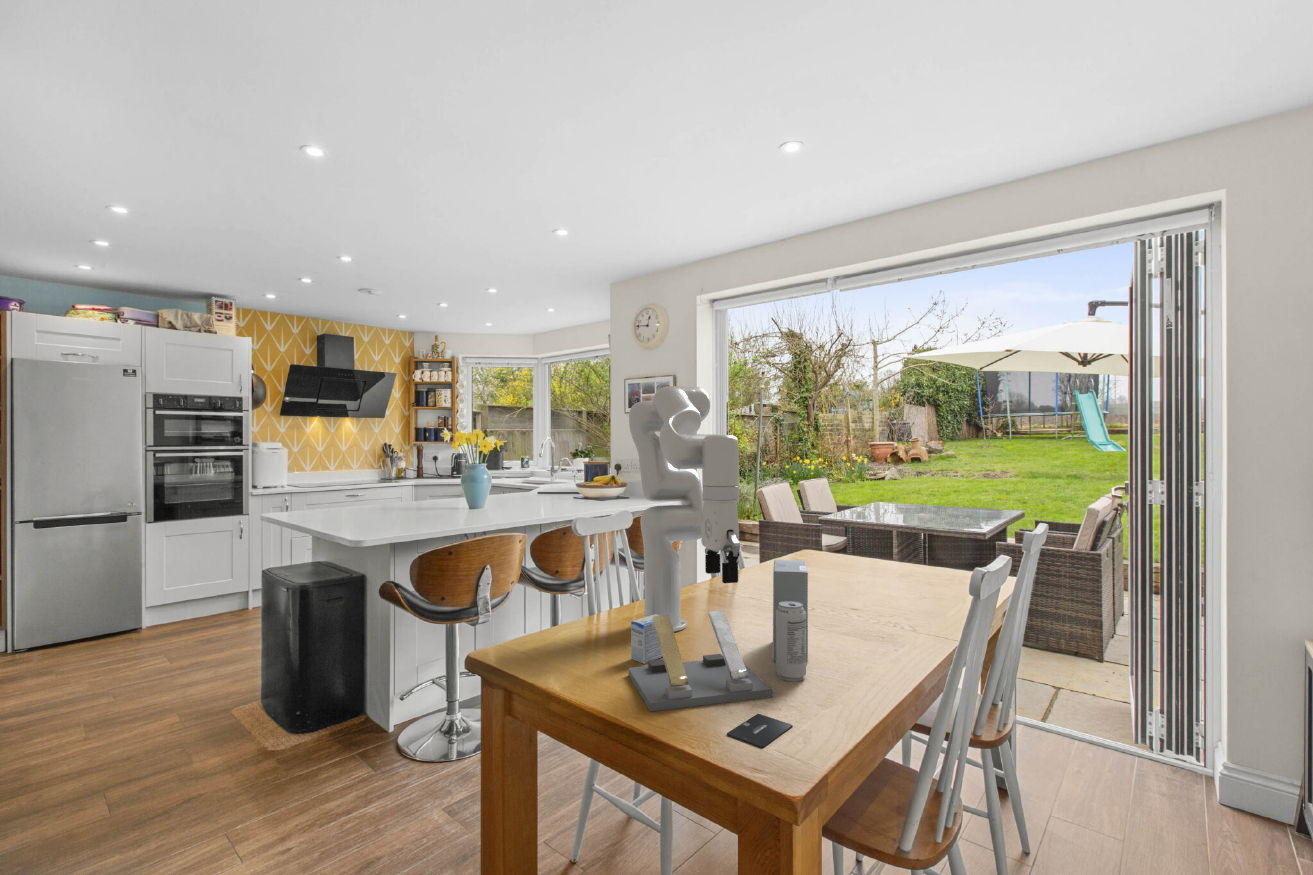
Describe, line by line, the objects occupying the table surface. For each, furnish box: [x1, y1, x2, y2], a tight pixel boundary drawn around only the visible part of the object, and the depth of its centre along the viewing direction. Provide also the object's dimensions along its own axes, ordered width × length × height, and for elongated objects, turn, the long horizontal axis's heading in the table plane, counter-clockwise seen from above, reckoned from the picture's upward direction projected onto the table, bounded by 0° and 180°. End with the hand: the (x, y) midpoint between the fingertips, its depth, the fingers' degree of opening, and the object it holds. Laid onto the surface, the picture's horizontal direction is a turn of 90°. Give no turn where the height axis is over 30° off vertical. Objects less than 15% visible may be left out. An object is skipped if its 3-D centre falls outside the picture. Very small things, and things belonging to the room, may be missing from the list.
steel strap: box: [708, 609, 749, 680], centre depth 122 cm, size 16×3×2 cm
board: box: [628, 653, 774, 713], centre depth 122 cm, size 18×24×3 cm
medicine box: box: [630, 614, 663, 665], centre depth 138 cm, size 8×4×9 cm, turn 135°
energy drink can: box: [775, 601, 807, 683], centre depth 126 cm, size 6×6×15 cm
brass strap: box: [653, 615, 688, 687], centre depth 119 cm, size 16×3×2 cm
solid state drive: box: [726, 713, 794, 749], centre depth 103 cm, size 7×10×1 cm
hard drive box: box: [772, 559, 809, 664], centre depth 141 cm, size 16×8×20 cm, turn 168°
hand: (721, 577), depth 126 cm, fingers open, 9 cm apart
